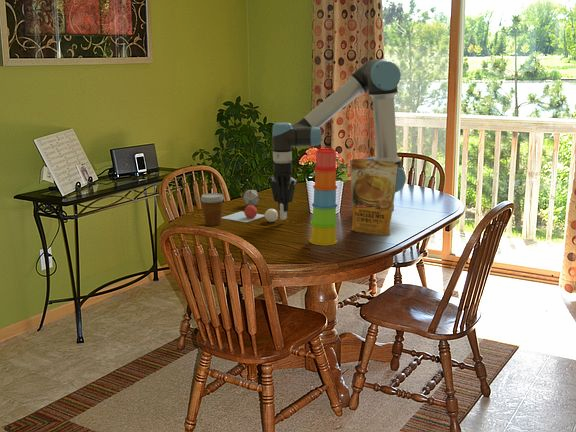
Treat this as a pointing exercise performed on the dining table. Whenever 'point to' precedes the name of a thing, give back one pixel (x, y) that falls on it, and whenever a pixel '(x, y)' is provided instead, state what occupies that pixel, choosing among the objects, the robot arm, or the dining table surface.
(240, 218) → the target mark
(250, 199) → the game die
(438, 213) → the dining table surface
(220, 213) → the disposable coffee cup
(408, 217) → the dining table surface
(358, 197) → the pancake mix bag
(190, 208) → the dining table surface
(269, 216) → the cue ball
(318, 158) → the stacking cups
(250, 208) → the red ball
